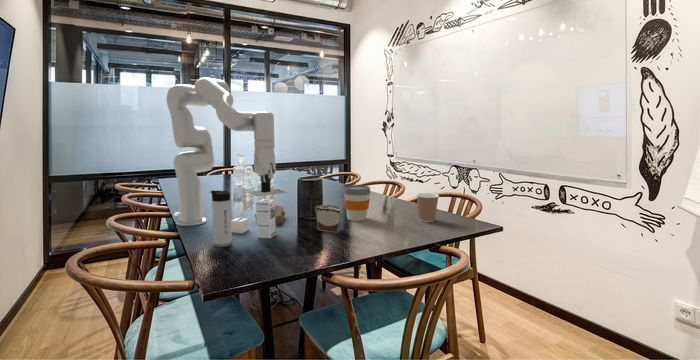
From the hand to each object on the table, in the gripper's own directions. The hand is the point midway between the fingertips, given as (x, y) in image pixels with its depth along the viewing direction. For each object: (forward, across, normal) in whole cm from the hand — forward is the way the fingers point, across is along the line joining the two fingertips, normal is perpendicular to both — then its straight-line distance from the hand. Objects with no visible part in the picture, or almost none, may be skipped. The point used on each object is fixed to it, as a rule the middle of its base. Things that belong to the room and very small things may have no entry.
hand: (265, 191), depth 147 cm
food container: (+18, +7, +26) cm, 32 cm away
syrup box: (+18, 0, 0) cm, 18 cm away
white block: (+18, -13, -6) cm, 23 cm away
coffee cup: (+18, +21, +71) cm, 76 cm away
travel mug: (+18, 0, -18) cm, 25 cm away
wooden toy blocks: (+18, -22, +12) cm, 31 cm away
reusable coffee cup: (+18, -1, +47) cm, 50 cm away
